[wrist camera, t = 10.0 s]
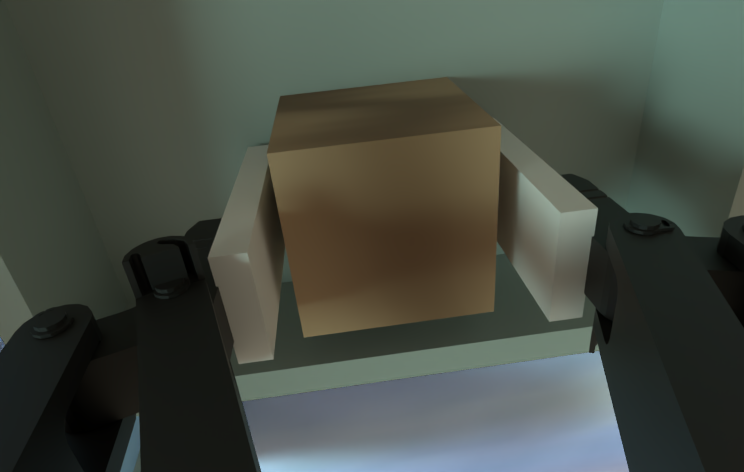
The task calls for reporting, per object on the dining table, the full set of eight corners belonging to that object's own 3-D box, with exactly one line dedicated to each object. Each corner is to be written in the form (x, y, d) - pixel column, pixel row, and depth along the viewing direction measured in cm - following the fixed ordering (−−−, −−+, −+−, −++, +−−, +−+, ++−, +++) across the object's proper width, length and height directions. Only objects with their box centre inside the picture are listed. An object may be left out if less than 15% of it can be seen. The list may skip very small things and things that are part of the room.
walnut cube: (306, 241, 17) (304, 337, 13) (280, 96, 15) (266, 153, 10) (448, 223, 17) (494, 311, 13) (446, 76, 15) (501, 125, 11)
